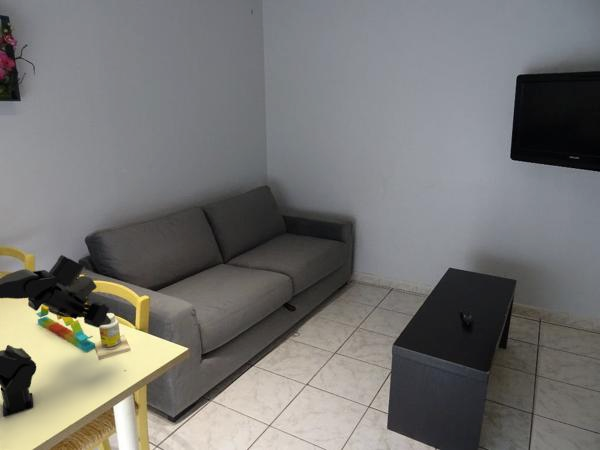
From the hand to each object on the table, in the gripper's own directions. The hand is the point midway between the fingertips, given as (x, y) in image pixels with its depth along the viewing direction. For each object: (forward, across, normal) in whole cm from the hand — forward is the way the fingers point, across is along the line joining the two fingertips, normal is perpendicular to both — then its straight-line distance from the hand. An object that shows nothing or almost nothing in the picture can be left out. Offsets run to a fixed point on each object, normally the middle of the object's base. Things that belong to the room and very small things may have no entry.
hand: (98, 319), depth 130 cm
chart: (+13, +23, +7) cm, 27 cm away
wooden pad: (+13, +3, +6) cm, 15 cm away
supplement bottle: (+13, +3, +5) cm, 14 cm away
